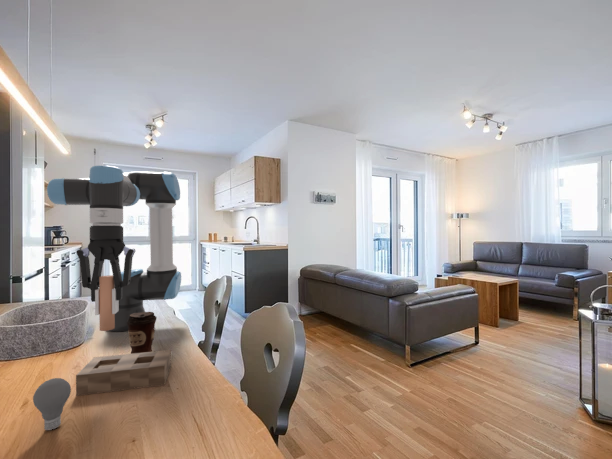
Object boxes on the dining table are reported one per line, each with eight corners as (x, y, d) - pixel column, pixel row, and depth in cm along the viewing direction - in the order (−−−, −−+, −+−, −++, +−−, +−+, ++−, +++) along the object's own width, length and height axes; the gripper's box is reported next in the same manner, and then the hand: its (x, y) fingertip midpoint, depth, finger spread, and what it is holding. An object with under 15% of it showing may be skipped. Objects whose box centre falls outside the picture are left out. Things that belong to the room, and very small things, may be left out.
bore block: (94, 375, 86) (94, 357, 86) (171, 366, 92) (171, 349, 91) (76, 395, 76) (76, 375, 76) (164, 384, 81) (164, 365, 81)
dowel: (102, 327, 83) (102, 275, 83) (116, 326, 84) (116, 275, 84) (97, 331, 80) (97, 277, 80) (112, 330, 81) (112, 277, 81)
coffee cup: (143, 360, 96) (143, 318, 96) (120, 357, 98) (120, 316, 98) (161, 349, 105) (161, 311, 105) (140, 347, 106) (140, 309, 106)
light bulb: (48, 419, 66) (47, 373, 66) (77, 418, 67) (77, 372, 67) (25, 438, 60) (24, 387, 60) (57, 437, 61) (57, 386, 61)
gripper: (64, 224, 76) (64, 319, 76) (136, 224, 81) (137, 314, 81) (77, 225, 84) (78, 311, 84) (144, 225, 88) (144, 307, 88)
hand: (107, 312), depth 82 cm, fingers closed on dowel, 3 cm apart
